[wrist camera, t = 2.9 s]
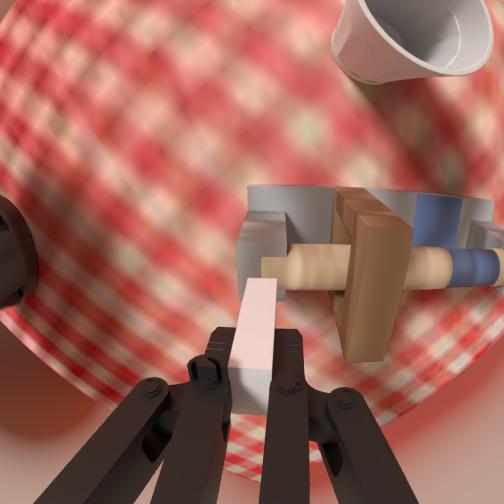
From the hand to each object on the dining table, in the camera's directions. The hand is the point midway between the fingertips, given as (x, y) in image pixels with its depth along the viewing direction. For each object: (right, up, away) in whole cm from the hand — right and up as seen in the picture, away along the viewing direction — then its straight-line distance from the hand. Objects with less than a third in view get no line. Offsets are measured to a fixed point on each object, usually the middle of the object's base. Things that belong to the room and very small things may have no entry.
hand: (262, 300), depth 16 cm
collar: (+7, +4, +8) cm, 11 cm away
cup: (+9, +19, +3) cm, 21 cm away
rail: (+11, +4, +9) cm, 15 cm away
